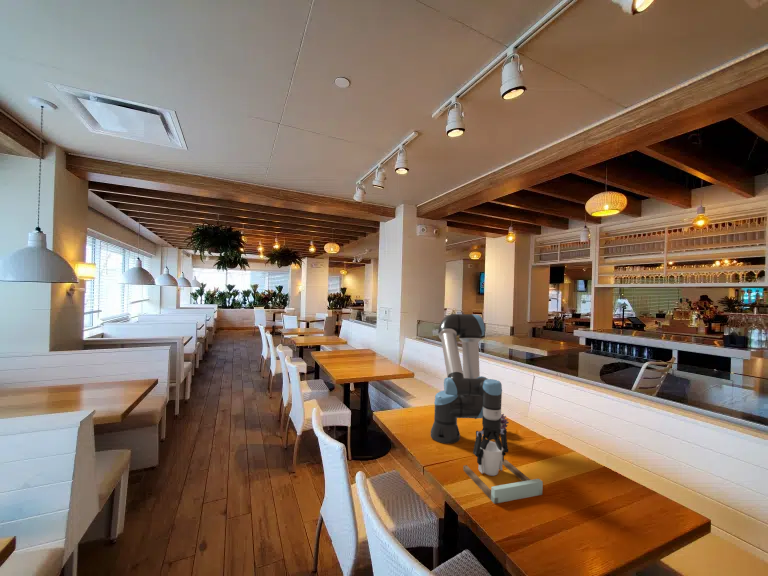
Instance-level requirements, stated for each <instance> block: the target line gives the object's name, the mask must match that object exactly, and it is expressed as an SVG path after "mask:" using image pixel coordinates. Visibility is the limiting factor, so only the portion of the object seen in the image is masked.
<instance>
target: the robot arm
mask: <svg viewBox="0 0 768 576" xmlns="http://www.w3.org/2000/svg"><path fill="white" fill-rule="evenodd" d="M437 331H438V332H437V333H438V338H439V339H440V340H441V347H442V353H443V357H444V364H445V370H446V377H445V378H444V380H443V390H440V391H439V392H436V394H435V397H434V417H433V418H434V421H433V423H432V426H431V428H430V438H431V439H432V440H434V441H435V442H438V443H440V444H441V443H442V444H456V443H458V442H459V441H460V440H461V433H460V430H459V429H460V428H459V426H458V419H475V420H476V419H482V420H481V421H482V428H481V430H476V431H475V441H474V446H473V449H472V450H473V451H472V454H473V455H474V456H475V457H476V463H477V465H478V467H477V468H478V471H479V472H480V474H485V473H484V457H483V454H484V452H483V449H484V450H485V449H486V446H487V444H488V443H489V441H494V442H495V443H496V445H497V447H498V449H499V450H501V449H502V447H503V451H502V456H501V460H500V465H499V471H503V461H504V460H505V456H506V455H507V454H506V453H509V446H508V439H507V432H508V431H507V430H505V429H504V428H501V419H500V418H501V414H502V398H503V395H502V394H503V387H502V386H503V385H502V382H501V381H499V380H497V379H493V378H492V379H491V378H489V377H488V378H487V377H485V376H483V375H482V376H481V375H480V373H481V372H480V353H479V351H480V350H479V347H480V346H479V342H480V341H481V340H482V337H483V336H484V335H485V333H486V332H485V331H486V327H485V322H484V319H483V318H482V316H481V315H480V314H474V313H471V314H470V313H469V314H468V313H467V314H464V313H463V314H462V313H459V314H458V313H451V314H448V315H446V316H445V317H444V318H443V319H442V320H441V321H440V323H439V326H438V330H437ZM457 336H458V337H459V338H458V339H459V340H460V341H461V344H462V345H461V346H462V361H461V358H460V352H459V347H458V342H457ZM500 428H501V429H500ZM480 447H481V448H482V449H481V448H480Z"/></svg>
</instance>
